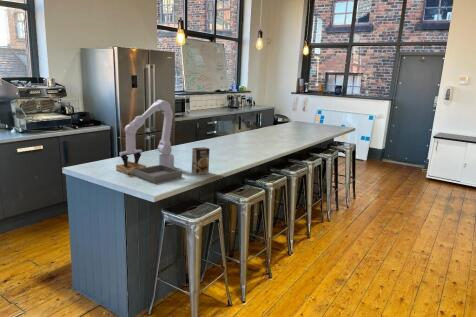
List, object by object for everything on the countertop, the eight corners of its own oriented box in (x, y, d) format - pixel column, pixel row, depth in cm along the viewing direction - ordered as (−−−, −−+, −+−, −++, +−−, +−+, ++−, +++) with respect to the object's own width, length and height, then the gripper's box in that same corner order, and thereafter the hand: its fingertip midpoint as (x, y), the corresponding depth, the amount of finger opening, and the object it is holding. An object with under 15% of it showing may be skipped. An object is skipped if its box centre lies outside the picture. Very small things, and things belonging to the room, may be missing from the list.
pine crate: (134, 167, 236) (134, 158, 235) (146, 171, 227) (146, 162, 226) (116, 170, 226) (116, 161, 225) (127, 174, 218) (127, 165, 217)
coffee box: (196, 175, 224) (197, 149, 220) (191, 172, 229) (191, 147, 225) (209, 173, 229) (209, 148, 225) (203, 171, 234) (204, 146, 230)
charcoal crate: (161, 170, 231) (161, 164, 230) (181, 177, 218) (181, 170, 217) (134, 175, 216) (133, 169, 215) (153, 183, 203) (153, 176, 202)
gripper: (137, 142, 231) (137, 162, 234) (116, 144, 220) (117, 166, 223) (143, 143, 226) (143, 164, 229) (122, 146, 216) (123, 168, 219)
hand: (131, 165), depth 226 cm, fingers open, 7 cm apart
